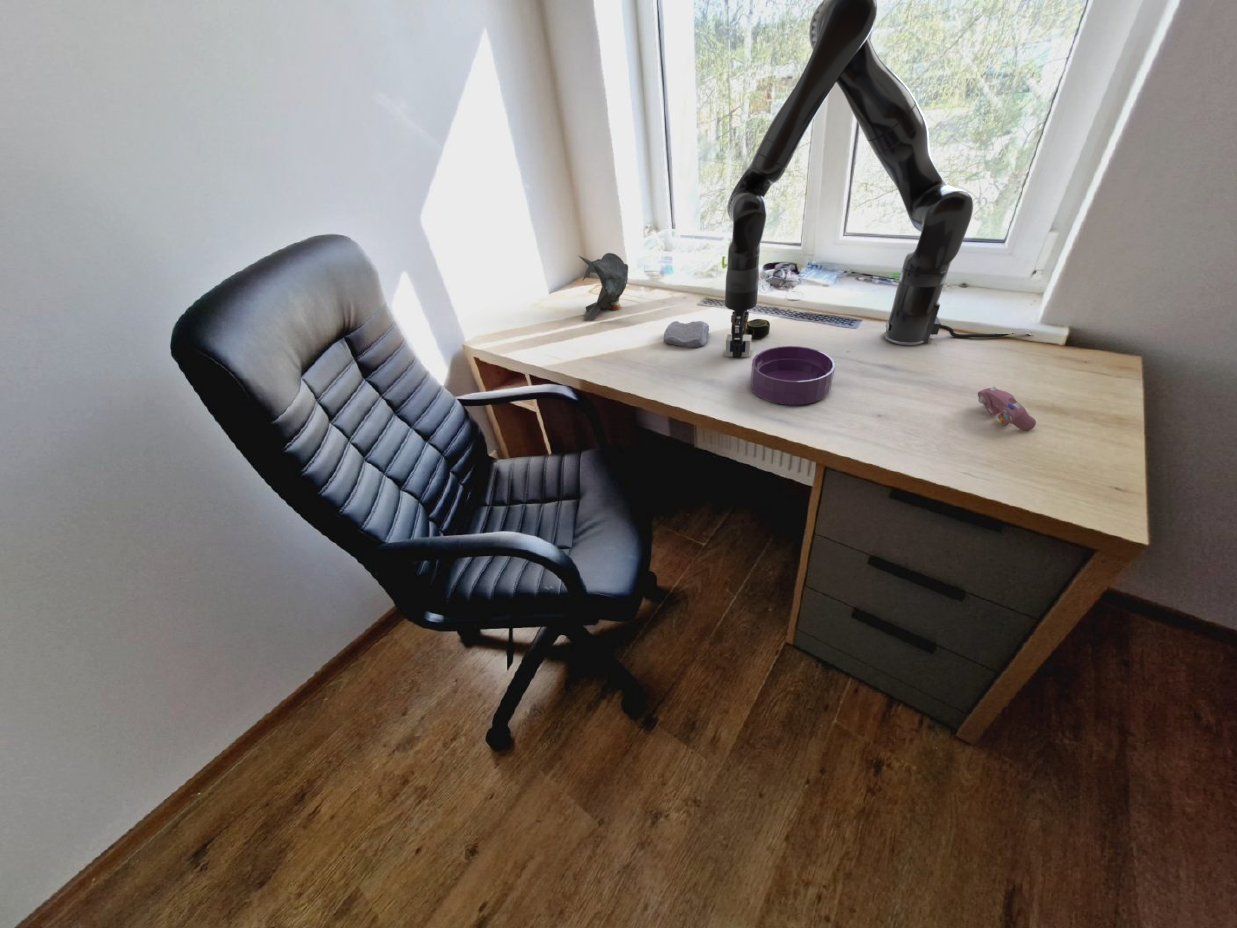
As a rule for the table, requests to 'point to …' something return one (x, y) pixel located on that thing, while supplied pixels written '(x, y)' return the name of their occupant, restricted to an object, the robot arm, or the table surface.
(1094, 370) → the table surface
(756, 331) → the tape measure
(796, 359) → the bowl
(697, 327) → the stone block
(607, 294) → the dark grey bird-shaped figure
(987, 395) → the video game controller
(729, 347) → the white box
